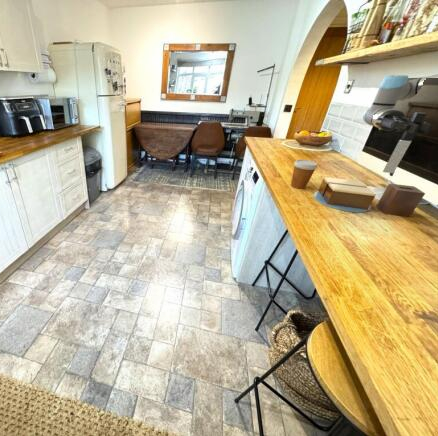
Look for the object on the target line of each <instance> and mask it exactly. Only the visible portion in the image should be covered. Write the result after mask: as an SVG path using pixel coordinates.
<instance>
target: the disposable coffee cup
mask: <svg viewBox="0 0 438 436" xmlns="http://www.w3.org/2000/svg"><path fill="white" fill-rule="evenodd" d="M317 168H318V163H317V162H315V161H313V160H309V159H296V161H294V162H293V171H292V177H291V181H290V186H291V187H292V188H295V189H299V190H304V189H306V188H307V186H308V184H309V182H310V180H311V178H312V176H313V175H314V172H315V171H316V170H317Z"/></svg>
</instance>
